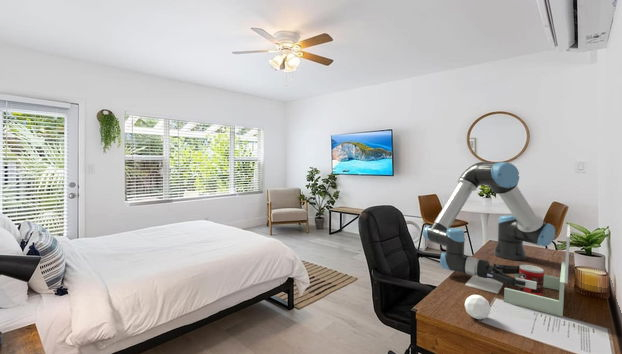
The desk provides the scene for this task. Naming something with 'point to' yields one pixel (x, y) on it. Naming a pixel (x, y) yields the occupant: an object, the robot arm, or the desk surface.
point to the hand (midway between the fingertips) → (538, 280)
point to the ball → (477, 306)
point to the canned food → (532, 278)
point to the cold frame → (549, 282)
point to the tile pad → (485, 284)
